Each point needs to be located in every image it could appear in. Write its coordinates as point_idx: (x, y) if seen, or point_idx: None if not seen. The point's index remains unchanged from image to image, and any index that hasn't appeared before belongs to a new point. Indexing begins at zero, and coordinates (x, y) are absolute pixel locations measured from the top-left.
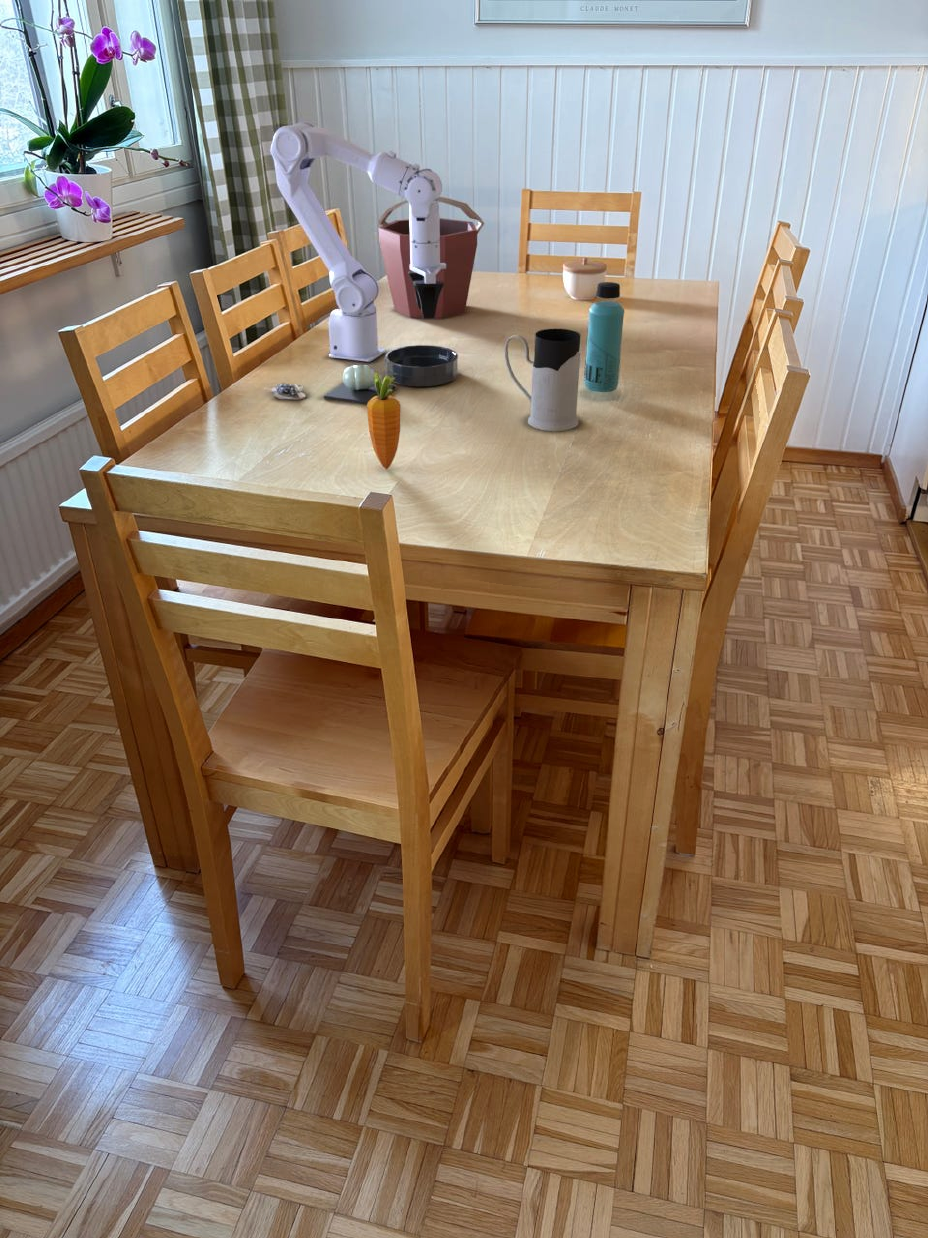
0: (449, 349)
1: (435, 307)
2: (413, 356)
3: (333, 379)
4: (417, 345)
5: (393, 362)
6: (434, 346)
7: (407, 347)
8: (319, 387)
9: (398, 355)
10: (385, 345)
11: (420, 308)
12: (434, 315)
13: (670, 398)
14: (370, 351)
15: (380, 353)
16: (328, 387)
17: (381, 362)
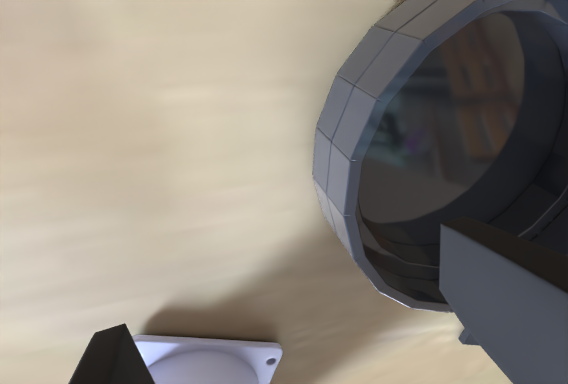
0: (439, 34)
1: (560, 257)
2: (358, 210)
3: (430, 374)
4: (347, 221)
5: (428, 266)
6: (374, 132)
7: (367, 258)
8: (484, 380)
9: (380, 269)
10: (25, 358)
11: (150, 377)
12: (486, 224)
13: None
14: (245, 374)
15: (193, 341)
16: (489, 363)
17: (274, 309)
